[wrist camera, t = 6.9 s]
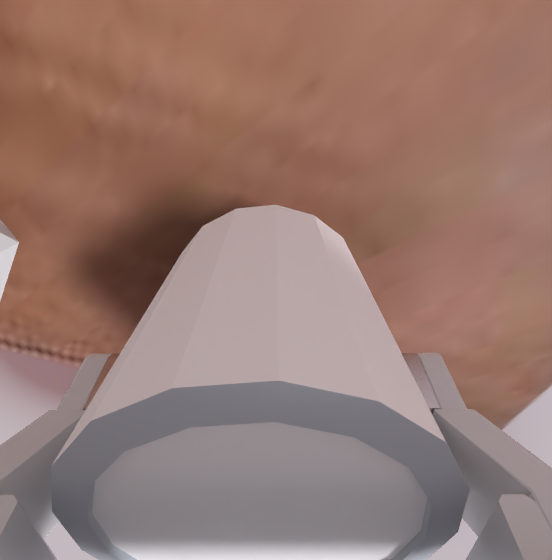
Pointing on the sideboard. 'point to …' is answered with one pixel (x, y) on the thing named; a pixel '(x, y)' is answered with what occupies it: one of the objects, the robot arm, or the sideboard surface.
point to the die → (6, 254)
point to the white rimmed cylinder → (260, 415)
